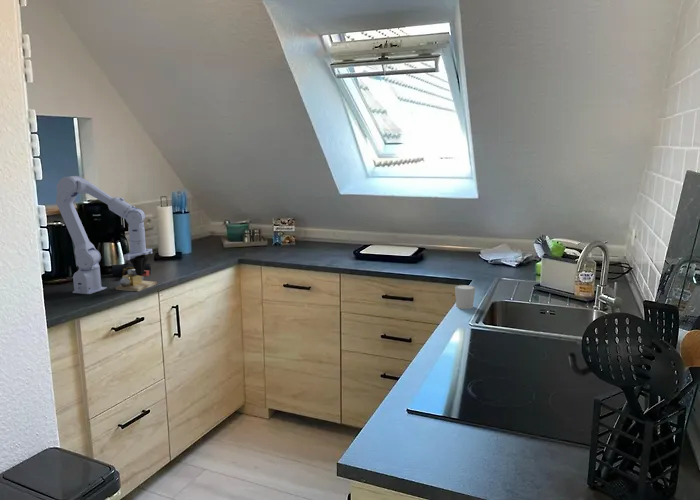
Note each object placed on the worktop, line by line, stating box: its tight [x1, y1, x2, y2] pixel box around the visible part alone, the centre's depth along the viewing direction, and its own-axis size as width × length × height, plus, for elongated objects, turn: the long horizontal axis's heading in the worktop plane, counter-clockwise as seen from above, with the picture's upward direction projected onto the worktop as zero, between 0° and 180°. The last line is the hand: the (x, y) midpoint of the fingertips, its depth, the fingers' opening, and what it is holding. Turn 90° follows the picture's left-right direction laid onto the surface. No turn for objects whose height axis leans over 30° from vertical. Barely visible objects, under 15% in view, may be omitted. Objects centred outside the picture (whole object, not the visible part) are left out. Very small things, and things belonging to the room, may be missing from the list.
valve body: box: [119, 275, 145, 287], centre depth 215 cm, size 10×5×4 cm, turn 163°
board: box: [115, 280, 158, 292], centre depth 215 cm, size 12×10×1 cm
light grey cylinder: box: [454, 284, 476, 310], centre depth 186 cm, size 7×7×7 cm
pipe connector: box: [111, 263, 152, 278], centre depth 232 cm, size 12×5×15 cm
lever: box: [128, 269, 150, 277], centre depth 214 cm, size 9×3×2 cm, turn 73°
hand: (140, 275), depth 211 cm, fingers closed
